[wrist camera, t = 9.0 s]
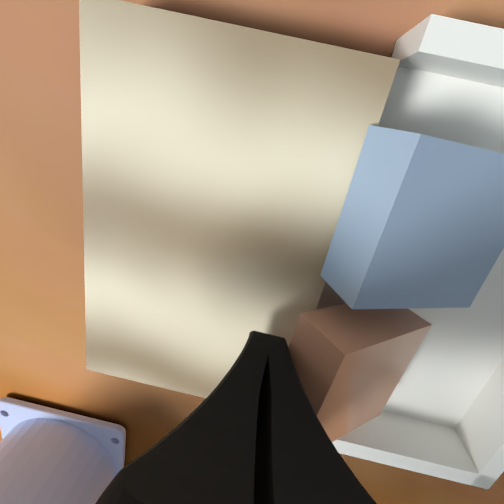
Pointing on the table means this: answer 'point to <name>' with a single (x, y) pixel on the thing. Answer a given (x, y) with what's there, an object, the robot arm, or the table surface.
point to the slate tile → (417, 223)
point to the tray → (446, 319)
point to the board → (209, 184)
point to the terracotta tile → (353, 361)
